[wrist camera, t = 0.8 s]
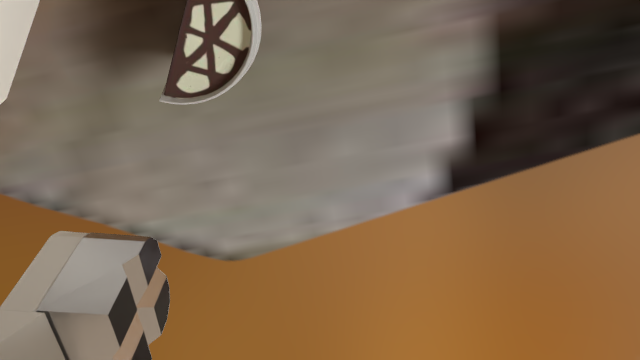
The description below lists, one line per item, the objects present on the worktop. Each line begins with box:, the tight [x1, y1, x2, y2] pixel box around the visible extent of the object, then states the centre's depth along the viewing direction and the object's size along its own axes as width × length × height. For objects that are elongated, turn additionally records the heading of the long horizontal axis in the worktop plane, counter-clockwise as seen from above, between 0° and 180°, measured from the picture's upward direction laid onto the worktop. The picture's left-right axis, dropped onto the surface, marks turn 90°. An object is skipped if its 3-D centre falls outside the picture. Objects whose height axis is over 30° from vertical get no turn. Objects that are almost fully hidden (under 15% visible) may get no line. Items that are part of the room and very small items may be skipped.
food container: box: [160, 0, 261, 104], centre depth 47 cm, size 12×6×10 cm, turn 160°
